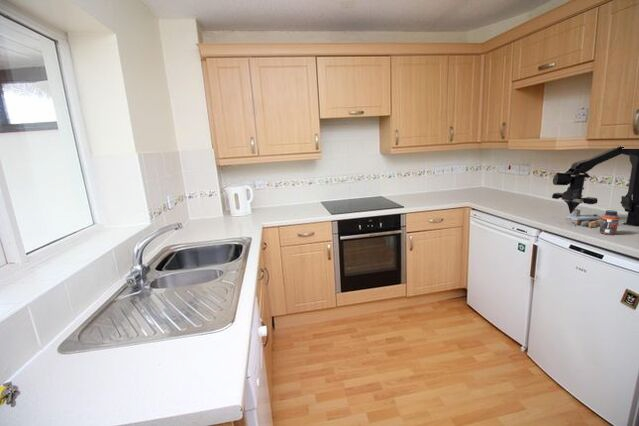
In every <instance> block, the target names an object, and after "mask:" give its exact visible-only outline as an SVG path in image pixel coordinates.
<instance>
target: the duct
mask: <svg viewBox="0 0 639 426" xmlns="http://www.w3.org/2000/svg"><path fill="white" fill-rule="evenodd" d="M601 220H602V218H601V219H592V221H593V222H589V225H588V226H587V227H588V229H592V228H595V227H599V226H600V225H601ZM582 221H586V220H574V226H577V227H578V226H579V225H580V226H581V222H582Z"/></svg>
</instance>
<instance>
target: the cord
mask: <svg viewBox="0 0 639 426" xmlns="http://www.w3.org/2000/svg"><path fill="white" fill-rule="evenodd" d="M589 222H593V221H592V220H586V221H582V222H581V225H580V226H581V227H588V226H589Z"/></svg>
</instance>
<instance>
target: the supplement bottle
mask: <svg viewBox="0 0 639 426" xmlns="http://www.w3.org/2000/svg"><path fill="white" fill-rule="evenodd" d="M601 219H602V220H601V225H599V226H600V227H599V233H600V234H601V235H602V234H603V235H607V236H615V235H616V234H617V231H618V226H619V220H620V217H619V215H618V210H614V209H613V210H610V209H606V210H605V213H604V214H602V216H601Z"/></svg>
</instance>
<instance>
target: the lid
mask: <svg viewBox="0 0 639 426" xmlns="http://www.w3.org/2000/svg"><path fill="white" fill-rule="evenodd" d="M566 218H567V219H571V220H574V221H575V220H592V219H602V216H599V214H597V213H596V214H595V213H594V214H581V209H577V208H575V210H574V211H573V212H572V215H567V216H566Z"/></svg>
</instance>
